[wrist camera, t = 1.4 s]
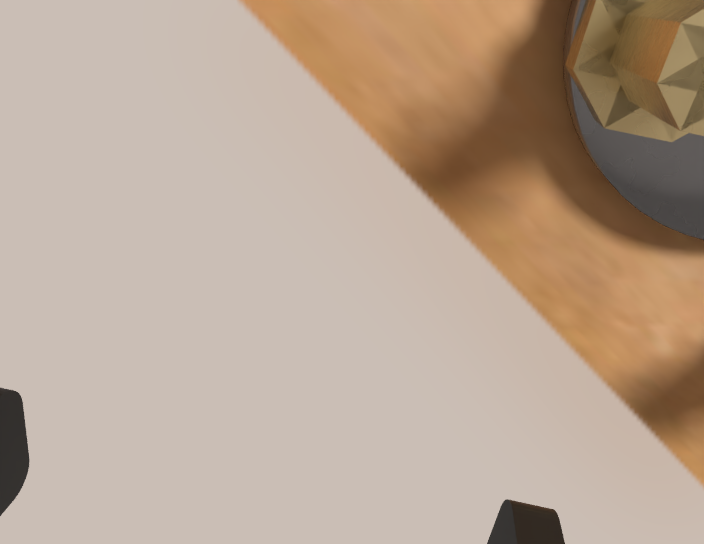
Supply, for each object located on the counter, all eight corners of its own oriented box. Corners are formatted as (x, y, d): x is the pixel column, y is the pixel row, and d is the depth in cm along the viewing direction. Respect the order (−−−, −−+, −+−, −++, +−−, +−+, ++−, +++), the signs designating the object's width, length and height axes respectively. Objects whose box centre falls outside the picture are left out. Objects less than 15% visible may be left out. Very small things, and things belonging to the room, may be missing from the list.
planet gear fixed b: (708, -87, 23) (823, -119, 16) (773, 69, 25) (900, 100, 18) (543, 23, 26) (581, 36, 19) (614, 157, 28) (673, 214, 21)
